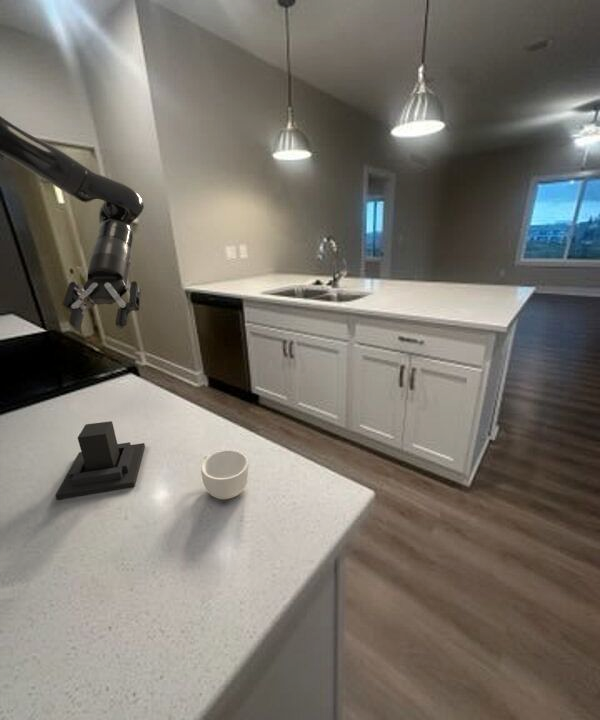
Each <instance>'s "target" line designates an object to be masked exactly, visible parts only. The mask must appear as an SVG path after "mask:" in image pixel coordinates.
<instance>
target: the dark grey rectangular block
mask: <svg viewBox="0 0 600 720" xmlns="http://www.w3.org/2000/svg"><path fill="white" fill-rule="evenodd" d="M78 434H79V435H78V436H77V441H78V444H79V448H80V452H82V455H83V459H84V462H85V466H86V470H87V472H89V471H96V470H102V469H109V468H115V467H117V465H118V462H119V459H120V453H119V449H118V444H119V443H118V440H117V436H116V432H115V428H114V424H113V420H110V421H101V422H93V423H86V424H84V426H83V428H82V430H81V431H80V433H78Z"/></svg>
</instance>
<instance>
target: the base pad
mask: <svg viewBox="0 0 600 720" xmlns="http://www.w3.org/2000/svg"><path fill="white" fill-rule="evenodd" d="M117 444H118V449H119V453H120V459H119V462H118V465H117V467H115V468H109V469H102V470H96V471H89V472H87V470H86V466H85V462H84V459H83V455H82V452H81V451H78V452H77V453H78V454H77V455H76V457H75V459H74V461H73V462H72V464H71V466H70V468H69V469H68V471H67V474H66V475H65V477H64V479H63V480H62V482H61V484H60V486H59V488H58V490H57V491H56V493H55V498H56V500H57V501H58V500H64V499H69V498H76V497H83V496H88V495H93V494H99V493H105V492H110V491H111V492H112V491H116V490H117V491H118V490H123V489H128V488H135V487H136V484H137V479H138V475H139V472H140V468H141V464H142V462H143V461H142V460H143V456H144V453H145V450H146V444H145V443H144V442H141V443H134V444H131V442H121V443H117Z"/></svg>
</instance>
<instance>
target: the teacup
mask: <svg viewBox="0 0 600 720" xmlns="http://www.w3.org/2000/svg"><path fill="white" fill-rule="evenodd" d="M249 465H250V464H249V459H248V457H247V456H246V455H245V454H244V453H243V452H241V451H238V450H234V449H223V450H218V451H215V452H212V453H211V454H207V455H205V456H204V458H203V461H202V463H201V467H200V473H201V477H202V478H201V479H202V483H203V486H204V488H205V490H206V491H207V493H208V494H209V495H210V496H212V497H213V498H216V499H218V500H229V499H233V498H235V497H237V496H239V495H240V494H241V493H242V492H243V491H244V490H245V489H246V487H247V484H248V479H249V467H250V466H249Z"/></svg>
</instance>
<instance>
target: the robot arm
mask: <svg viewBox="0 0 600 720" xmlns="http://www.w3.org/2000/svg"><path fill="white" fill-rule="evenodd" d="M0 154H1V155H3V156H5V157H6V158H8V159H10V160H11V161H14V162H15V163H17V164H19V165H20V166H21V167H24V168H25V169H27V170H28V171H30V172H32V173H33V174H35V175H36V176H38V177H40V178H41V179H43V180H44V181H46V182H48V183H50V184H51V185H53V186H54V187H56V188H58V189H60V190H61V191H63V192H64V193H66V194H68V195H70V196H71V197H73V198H75V199H76V200H78V201H80V202H83V203H90V202H92V201H94V200H100V201H103V202H102V204H101V206H100V209H99V212H98V213H99V214H98V225H99V229H98V233H97V238H96V241H95V243H94V246H93V249H92V252H91V257H90V261H89V266H88V269H87V274H86V275H87V279H86V282H85V283H84V284H77V283H76V282H75V281H71V282H69V283H68V286H67V290H66V292H65V295H64V299H63V301H62V306H64V308H65V309H67V311H68V312H69V313H70V315H69V316H70V317H69V320H68V323H69V325H71V327H72V328H73V329H74V330H81V328H82V323H83V319H84V313H86V312H87V311H88V309H93V308H94V307H95V306H96V305H97V306H98V305H99V306H100V305H113V304H115V303H116V304H117V305H118V306H119V307H120V308H117V312H116V316H115V317H116V318H115V326H116V328H117V329H119V330H123V329H124V328H125V327H126V326H127V324H128V320H129V314H130V313H131V312H133V311H134V312H138V311H139V310H140V307H141V306H140V305H141V294H142V288H141V287H140V285H139V284H138V282H137V281H135V280H134V281H133V280H132V281H131V282H130V283H128V278H129V274H130V267H131V264H132V263H131V262H132V250H133V249H132V248H133V244H134V243H133V242H134V231H133V230H132V228H131V227H130V226H131V225H132V224H133V223H134V221H135V220H136V219H137V218H139V217H140V216H141V215H142V213H143V212H144V209H145V205H144V201H143V199H142V197H141V196H140V195H139V194H138V192H136V191H135V190H134V189H133V188H131V187H130V186H128V185H127V184H124V183H122V182H119V181H117V180H114V179H112V178H109V177H107V176H104V175H102V174H99V173H96V172H94V171H93V170H91V169H90V168H88V167H87V166H85V165H84V164H83V163H81V162H79V161H78V160H76V159H75V158H73V157H71V156H70V155H68V154H66V152H64V151H62V150H60V149H58V148H57V147H55V146H53V145H51V144H49V143H47V142H45V141H44V140H42V139H39V138H37V137H36V136H34V135H32V134H30V133H28V132H27V131H24V130H23V129H21V128H20V127H18V126H17V125H14V124H13V123H12V122H10V121H8V120H7V119H5V118H4V117H2V116H1V115H0ZM127 292H128V293H129V299H128V302H125V301H124V300H123V299H122V297H123V296H124V295H125V294H126V293H127ZM88 299H90V300H88Z"/></svg>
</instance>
